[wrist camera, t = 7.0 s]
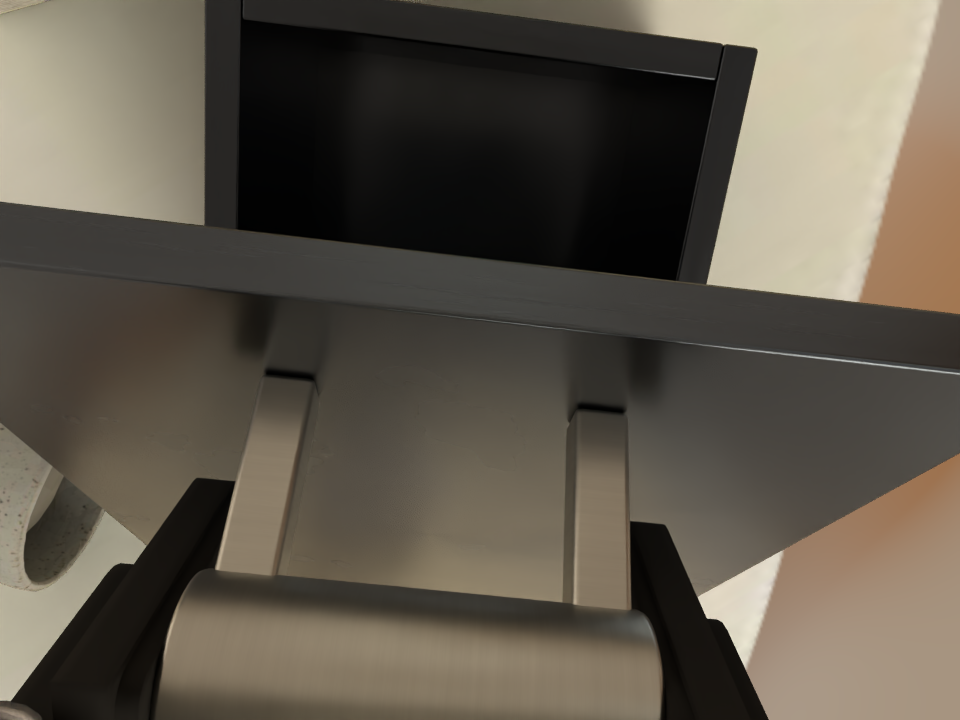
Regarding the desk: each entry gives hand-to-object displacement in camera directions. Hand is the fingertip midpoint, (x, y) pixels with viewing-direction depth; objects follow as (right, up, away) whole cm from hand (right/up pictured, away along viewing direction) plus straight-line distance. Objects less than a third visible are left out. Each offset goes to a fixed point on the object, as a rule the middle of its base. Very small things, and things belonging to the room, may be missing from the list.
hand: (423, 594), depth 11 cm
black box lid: (0, 0, +5) cm, 5 cm away
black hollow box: (0, +8, +21) cm, 22 cm away
